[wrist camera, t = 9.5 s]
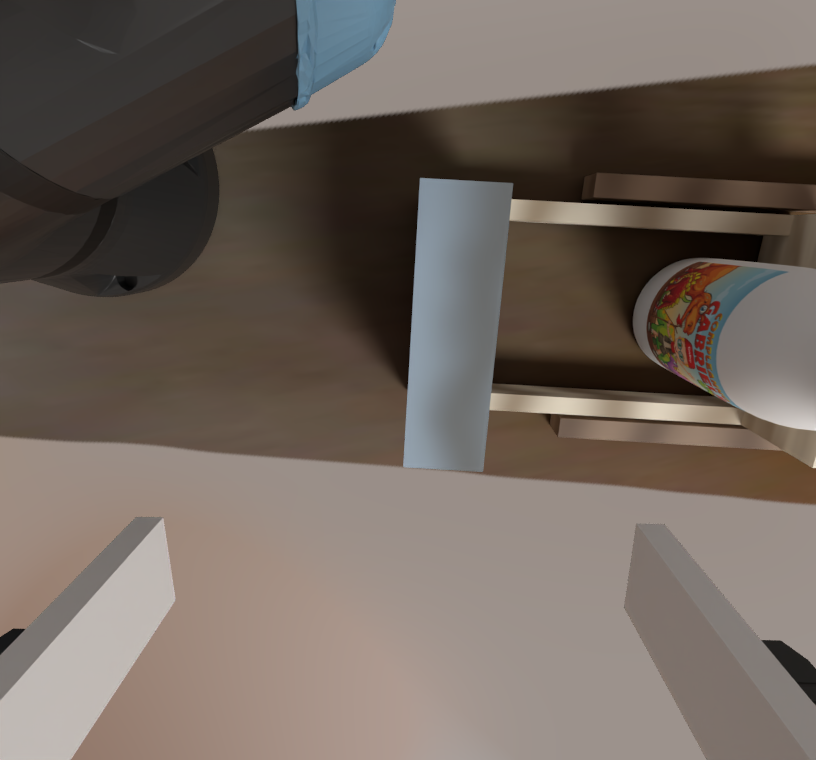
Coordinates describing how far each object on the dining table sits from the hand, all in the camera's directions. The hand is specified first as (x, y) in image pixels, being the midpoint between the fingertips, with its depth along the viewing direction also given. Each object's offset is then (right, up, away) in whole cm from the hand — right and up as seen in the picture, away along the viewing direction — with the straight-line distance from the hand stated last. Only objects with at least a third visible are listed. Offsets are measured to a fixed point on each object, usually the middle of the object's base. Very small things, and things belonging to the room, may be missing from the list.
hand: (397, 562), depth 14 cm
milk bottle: (+20, +10, +21) cm, 31 cm away
